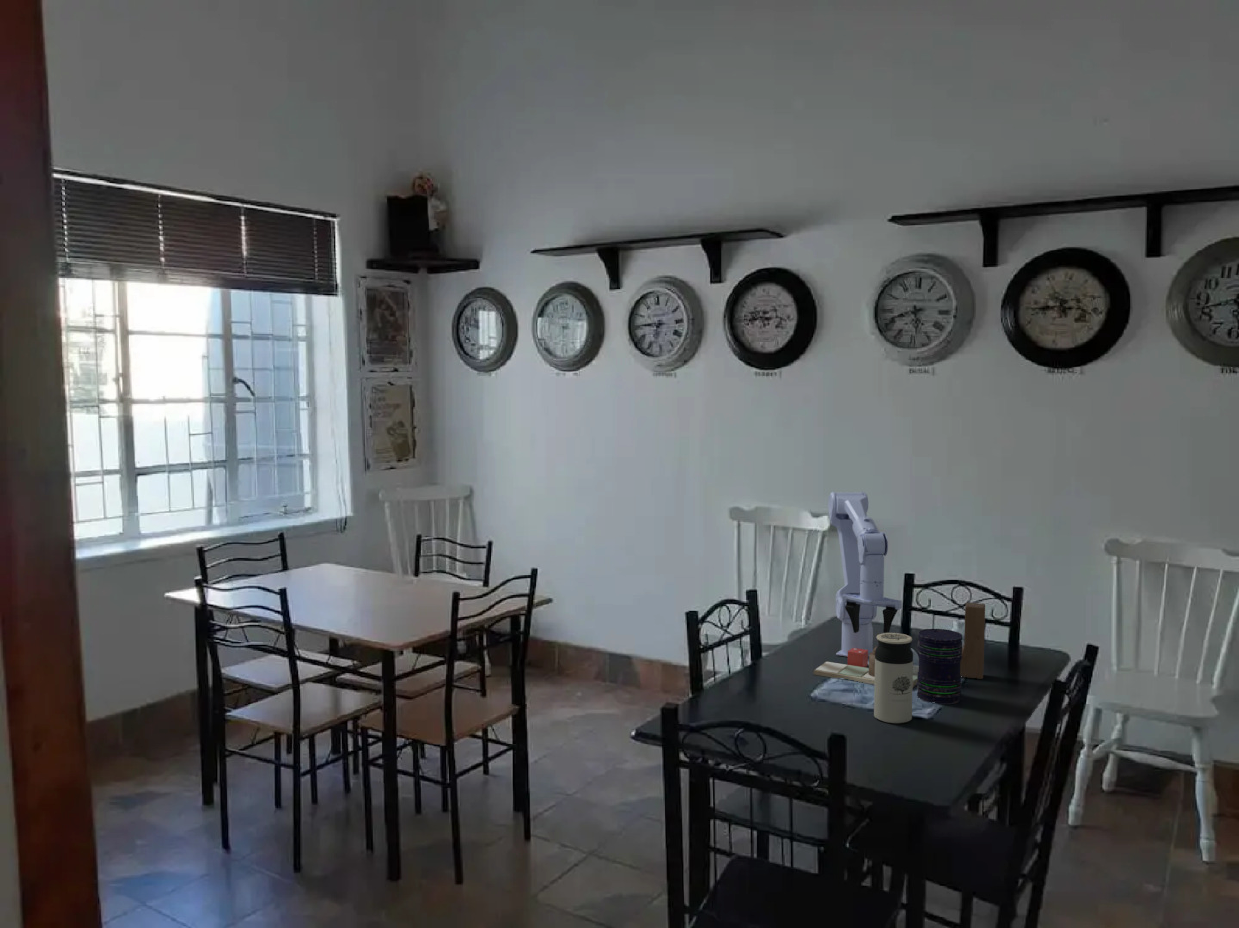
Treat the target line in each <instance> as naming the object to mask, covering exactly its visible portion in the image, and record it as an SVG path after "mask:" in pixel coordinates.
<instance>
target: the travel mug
mask: <svg viewBox="0 0 1239 928" xmlns="http://www.w3.org/2000/svg"><path fill="white" fill-rule="evenodd" d="M876 639H877V646H876V647H877V648H876V650H875V684H873V685H874V687H873V688H874V691H873V693H874V698H873V701H874V702H873V716H874V717H875V719H878V720H879V721H882V722H884V723H887V724H904V723H908V722H910V721H912V720H913V688H912V686H913V652H912V650H911V643H912V641H913V638H912V636H910V635H907V634H904V633H898V632H889V633H879V634H877V635H876Z"/></svg>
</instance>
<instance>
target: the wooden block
mask: <svg viewBox="0 0 1239 928" xmlns="http://www.w3.org/2000/svg"><path fill="white" fill-rule="evenodd" d="M985 625H986V604H985V603H978V602H966V603H965V607H964V637H963V638H964V639H963V640H964V642H963V645H962V660H961V663H960V675H961V676H962V677H961V678H965V677H967V679H974V678H977V679H976V680H983V679H984V669H985V668H984V664H985V661H984V660H985V627H986V626H985Z"/></svg>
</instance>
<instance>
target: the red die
mask: <svg viewBox="0 0 1239 928" xmlns="http://www.w3.org/2000/svg"><path fill="white" fill-rule="evenodd" d="M846 665H852V666H859V667H865V668H867V667H868V666H869V657H868V650H865V649H858V648H852V649H850V650H849V651H848V657H847V663H846Z"/></svg>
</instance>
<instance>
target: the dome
mask: <svg viewBox="0 0 1239 928" xmlns="http://www.w3.org/2000/svg"><path fill="white" fill-rule="evenodd" d="M910 648H911V647H910ZM911 650H912V652H913V665H915V666H919V657H918V652H916V650H914V649H913V648H911Z"/></svg>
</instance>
